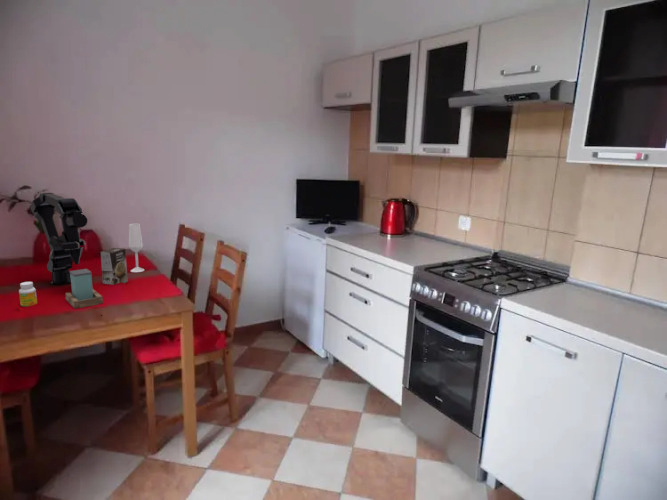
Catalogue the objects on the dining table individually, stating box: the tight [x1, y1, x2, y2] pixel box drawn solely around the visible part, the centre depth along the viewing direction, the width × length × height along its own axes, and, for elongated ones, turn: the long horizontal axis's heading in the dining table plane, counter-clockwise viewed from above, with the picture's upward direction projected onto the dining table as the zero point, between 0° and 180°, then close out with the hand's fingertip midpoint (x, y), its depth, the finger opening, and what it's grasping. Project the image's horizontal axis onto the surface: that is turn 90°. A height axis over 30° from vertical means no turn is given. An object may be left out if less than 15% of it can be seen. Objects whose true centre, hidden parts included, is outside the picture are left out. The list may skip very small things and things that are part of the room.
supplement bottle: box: [18, 281, 38, 307], centre depth 170 cm, size 5×5×10 cm
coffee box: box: [100, 247, 129, 285], centre depth 200 cm, size 9×6×16 cm
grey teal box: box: [69, 268, 94, 301], centre depth 175 cm, size 6×6×12 cm
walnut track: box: [64, 288, 104, 310], centre depth 175 cm, size 13×11×4 cm
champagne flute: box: [128, 222, 145, 273], centre depth 221 cm, size 7×7×24 cm
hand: (76, 264), depth 188 cm, fingers closed
